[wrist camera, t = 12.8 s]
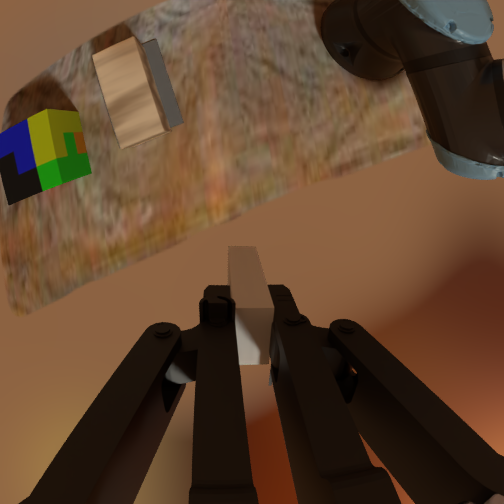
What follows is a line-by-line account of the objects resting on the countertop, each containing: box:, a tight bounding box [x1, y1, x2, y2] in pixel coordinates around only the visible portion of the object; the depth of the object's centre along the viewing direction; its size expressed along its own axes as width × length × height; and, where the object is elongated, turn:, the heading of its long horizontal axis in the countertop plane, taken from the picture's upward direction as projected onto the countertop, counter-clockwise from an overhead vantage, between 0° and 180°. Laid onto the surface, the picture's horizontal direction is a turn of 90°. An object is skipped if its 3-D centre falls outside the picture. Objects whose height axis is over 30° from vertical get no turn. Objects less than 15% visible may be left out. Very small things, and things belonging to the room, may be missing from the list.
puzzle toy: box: [0, 109, 92, 205], centre depth 36 cm, size 10×10×10 cm
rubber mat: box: [94, 39, 184, 147], centre depth 39 cm, size 14×10×1 cm
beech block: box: [92, 36, 171, 149], centre depth 36 cm, size 6×6×14 cm
